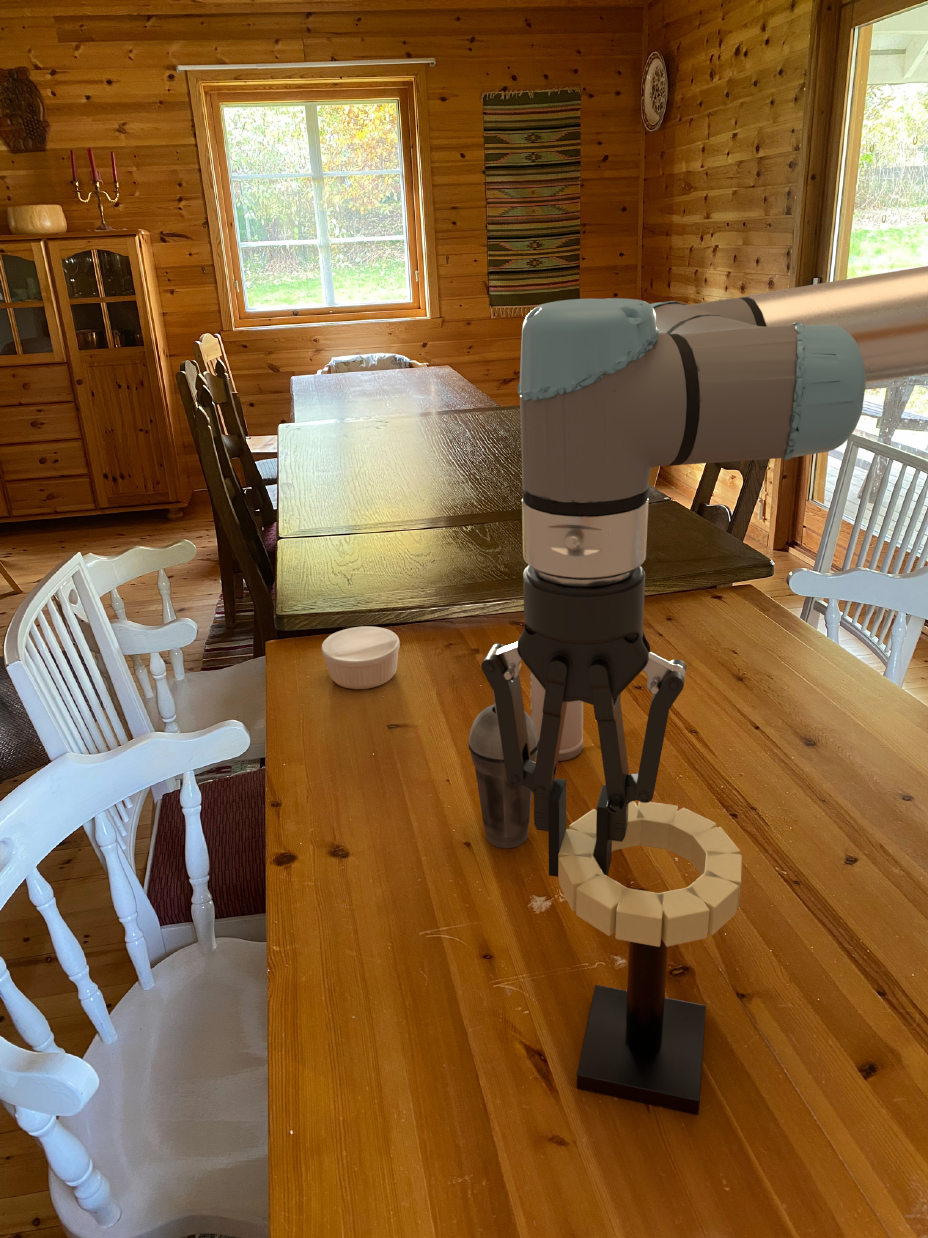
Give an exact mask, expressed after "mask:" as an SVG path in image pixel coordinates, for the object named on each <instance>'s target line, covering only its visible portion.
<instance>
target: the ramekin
mask: <svg viewBox="0 0 928 1238" xmlns="http://www.w3.org/2000/svg"><path fill="white" fill-rule="evenodd" d="M400 647H401V641H400V638H399V636H398V635H397V634H396V633H395V632H393V631H392V630H390V629H388V628H384V627H379V626H370V625H369V626H368V625H367V626H355V627H349V628H346V629H342V630H339V631H336V632H334V633H331V634H330V635H329V636H328V637H326V638H325V639H324V641H323V642H322V644H321V654H322V657H323V658H324V660H325V664H326V667H327V670H328V674H329V677H330V679H331V680H332V681H333V682H334V683H335V684H337V685H338V686H339V687H342V688H346V689H351V690H367V689H368V690H369V689H373V688H378V687H380V686H382V685H384V684H386V683H388V682H389V681H390V680H391V679H392V678H393V677H394V675H395V674H396V672H397V669H398V658H399V651H400Z"/></svg>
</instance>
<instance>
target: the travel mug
mask: <svg viewBox="0 0 928 1238" xmlns="http://www.w3.org/2000/svg"><path fill="white" fill-rule="evenodd" d="M529 671H530V670H529ZM529 674H530V675H529V676H530V717H531V719H532V720H533V722H534V724H535V727H536V731H537V735H538V739H539V738H540V731H541V725H542V718H543V704H544V697H545V689H544V688H543V687H542V685H541V684H540V683H539V681H538V680H537V679H536V677H535V676H534V675H533V673H532V672H531V671H530V673H529ZM583 736H584V702H583V701H572V702H567V707H566V713H565V719H564V726H563V732H562V738H561V744H560V751H559V757H558V762H564V761H569V760H571V759H574V758H577V757H578V756H579V755H580V754H581V753H582V752H583V747H584V738H583Z"/></svg>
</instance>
